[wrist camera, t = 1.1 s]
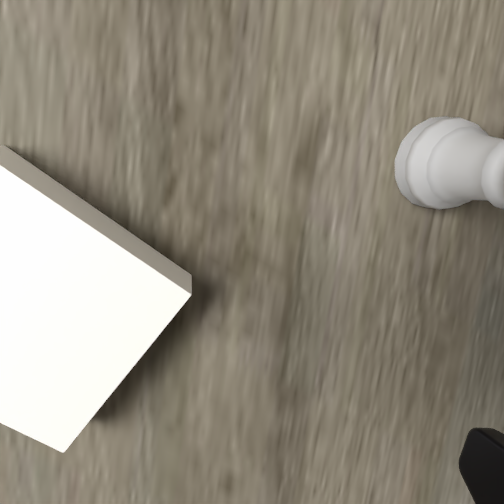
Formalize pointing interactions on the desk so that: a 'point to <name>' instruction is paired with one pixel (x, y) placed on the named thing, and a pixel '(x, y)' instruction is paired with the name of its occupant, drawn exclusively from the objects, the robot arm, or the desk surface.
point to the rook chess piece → (450, 164)
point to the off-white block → (71, 304)
